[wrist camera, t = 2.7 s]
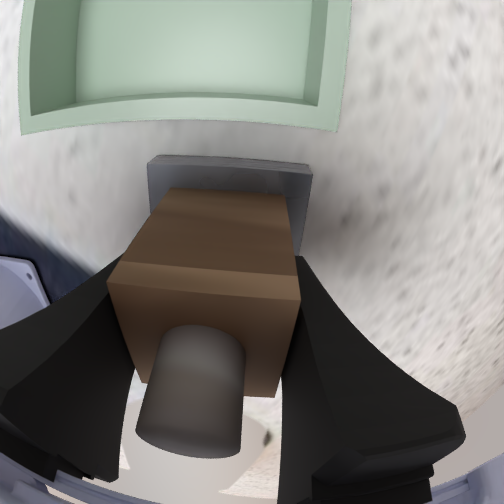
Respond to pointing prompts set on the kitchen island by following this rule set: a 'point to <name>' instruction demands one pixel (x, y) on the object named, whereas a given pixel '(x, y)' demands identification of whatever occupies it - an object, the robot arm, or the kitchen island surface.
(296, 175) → the stud plate
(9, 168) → the kitchen island surface
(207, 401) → the brown square bottle
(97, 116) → the bin
